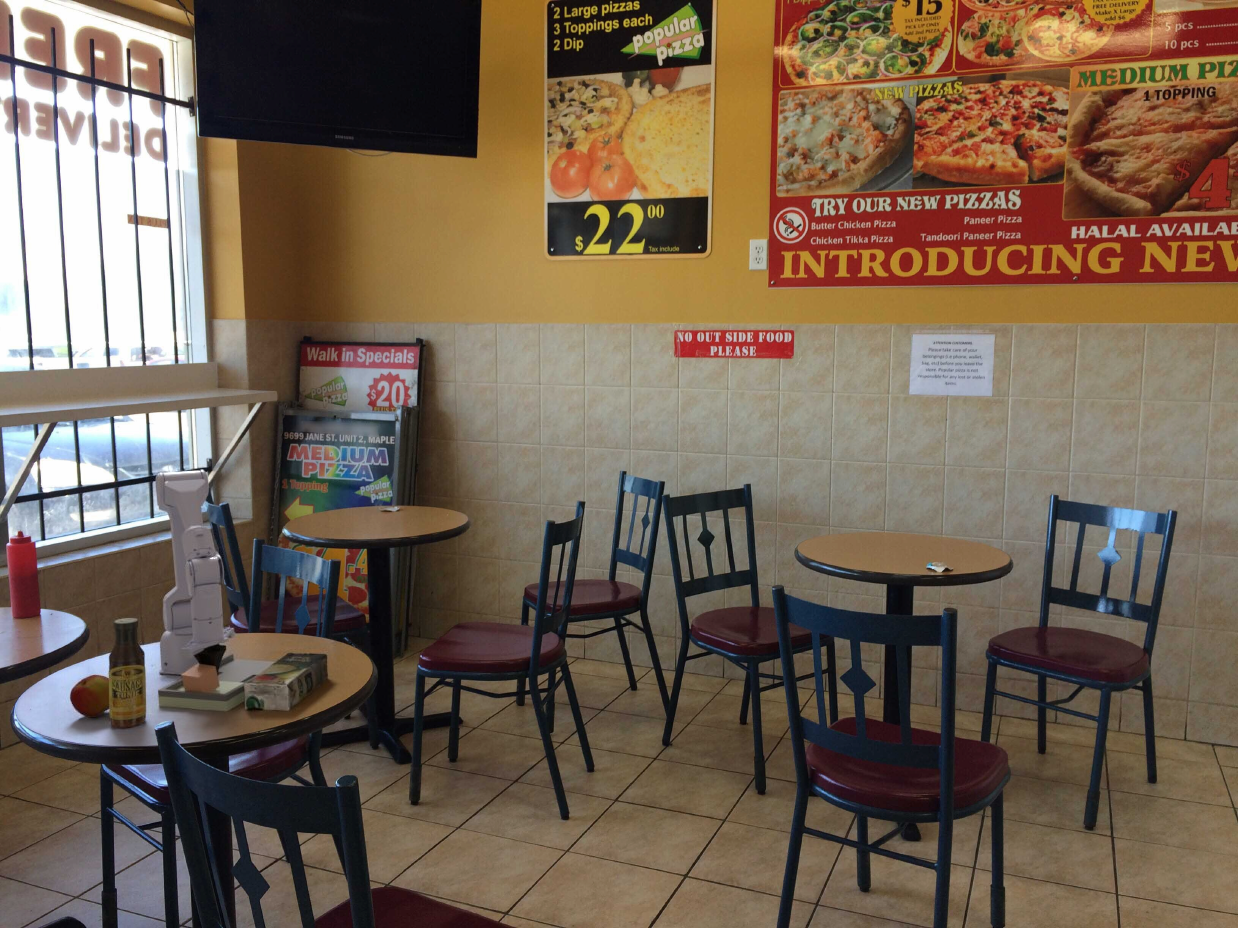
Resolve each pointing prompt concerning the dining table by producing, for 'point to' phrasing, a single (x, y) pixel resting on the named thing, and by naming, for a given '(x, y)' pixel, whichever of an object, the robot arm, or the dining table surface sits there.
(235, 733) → the dining table surface
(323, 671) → the juice carton
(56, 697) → the dining table surface
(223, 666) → the trap tray
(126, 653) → the sauce bottle
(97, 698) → the apple
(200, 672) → the block
